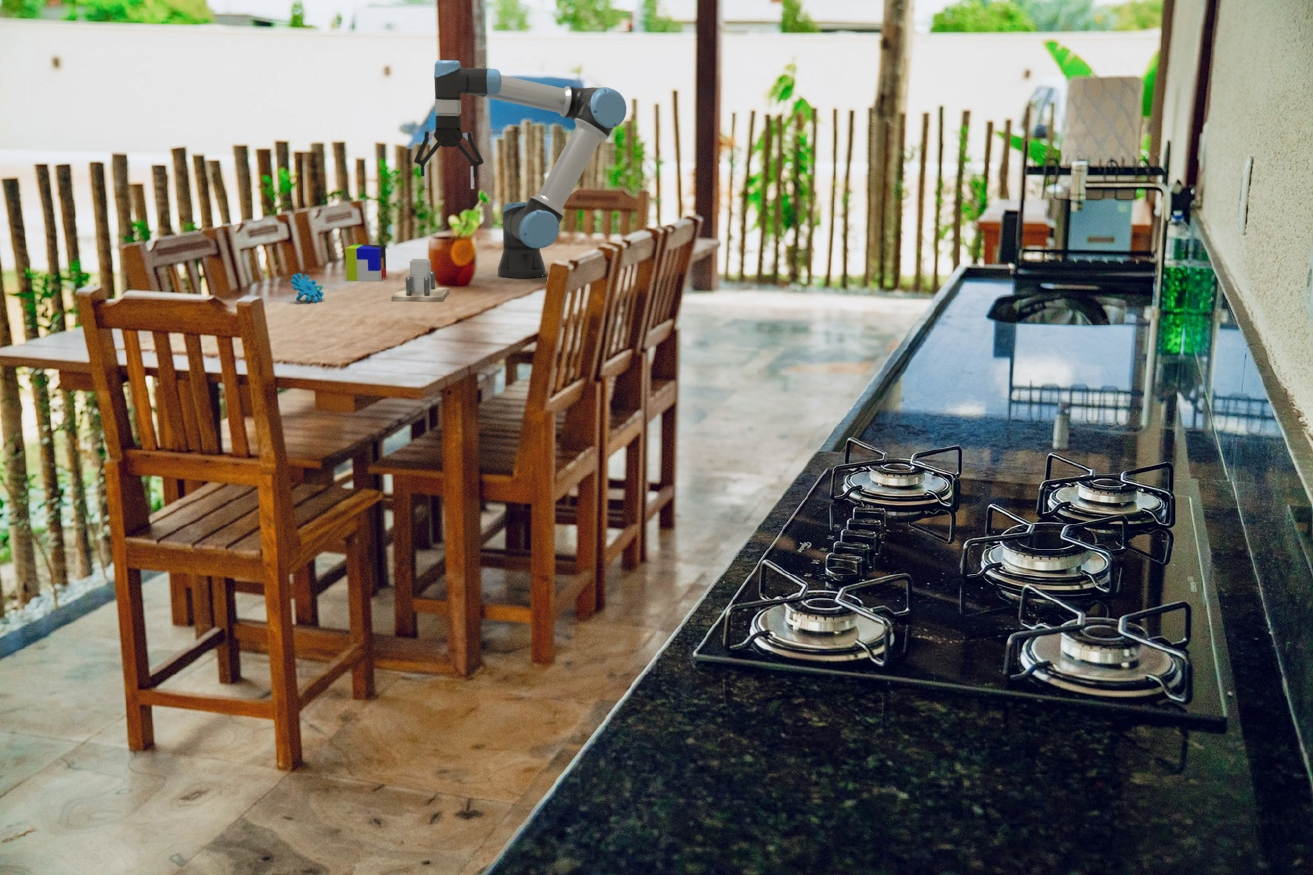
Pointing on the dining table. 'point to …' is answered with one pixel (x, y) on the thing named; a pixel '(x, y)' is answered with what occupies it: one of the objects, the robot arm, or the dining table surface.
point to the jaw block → (419, 274)
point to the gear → (307, 288)
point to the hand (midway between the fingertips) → (449, 188)
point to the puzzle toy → (365, 262)
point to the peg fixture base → (428, 295)
